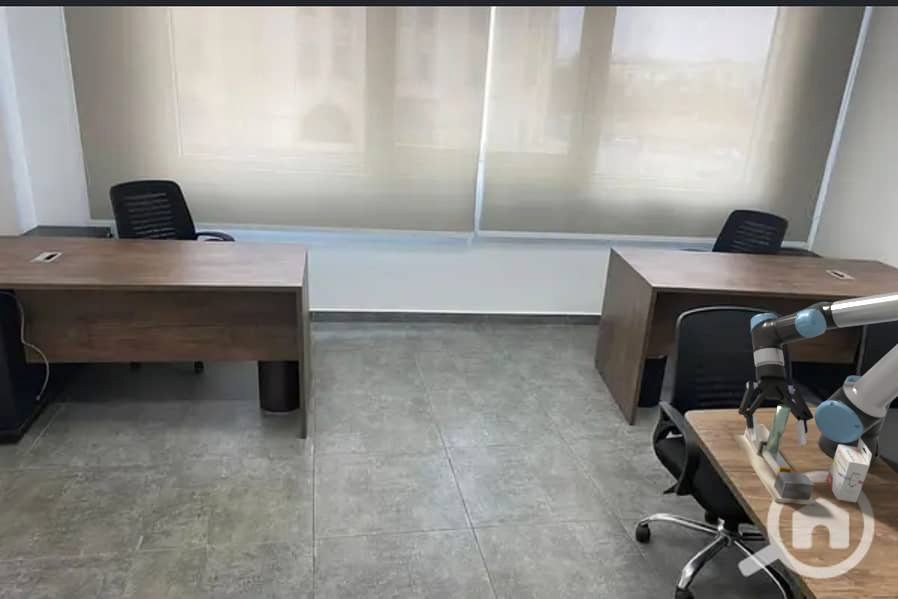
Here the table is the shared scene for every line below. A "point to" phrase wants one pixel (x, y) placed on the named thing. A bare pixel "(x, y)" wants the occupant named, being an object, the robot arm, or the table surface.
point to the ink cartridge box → (849, 471)
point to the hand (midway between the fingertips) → (778, 443)
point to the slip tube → (776, 441)
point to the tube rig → (779, 486)
